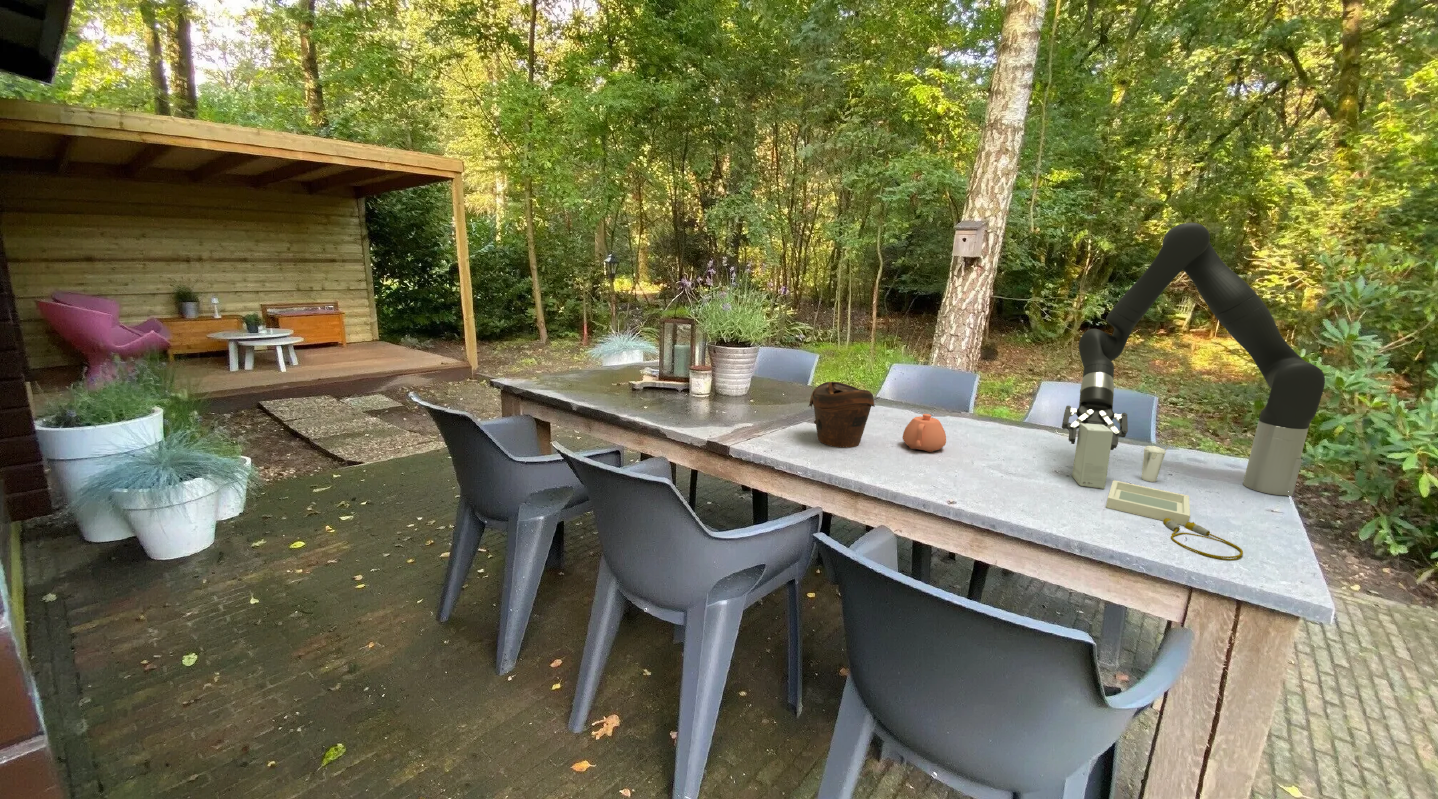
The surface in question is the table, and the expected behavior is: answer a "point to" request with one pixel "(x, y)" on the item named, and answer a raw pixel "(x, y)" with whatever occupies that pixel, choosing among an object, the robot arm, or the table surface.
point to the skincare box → (1092, 455)
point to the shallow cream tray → (1149, 502)
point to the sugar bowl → (924, 434)
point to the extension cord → (1203, 531)
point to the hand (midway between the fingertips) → (1092, 445)
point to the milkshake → (1152, 462)
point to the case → (840, 413)
